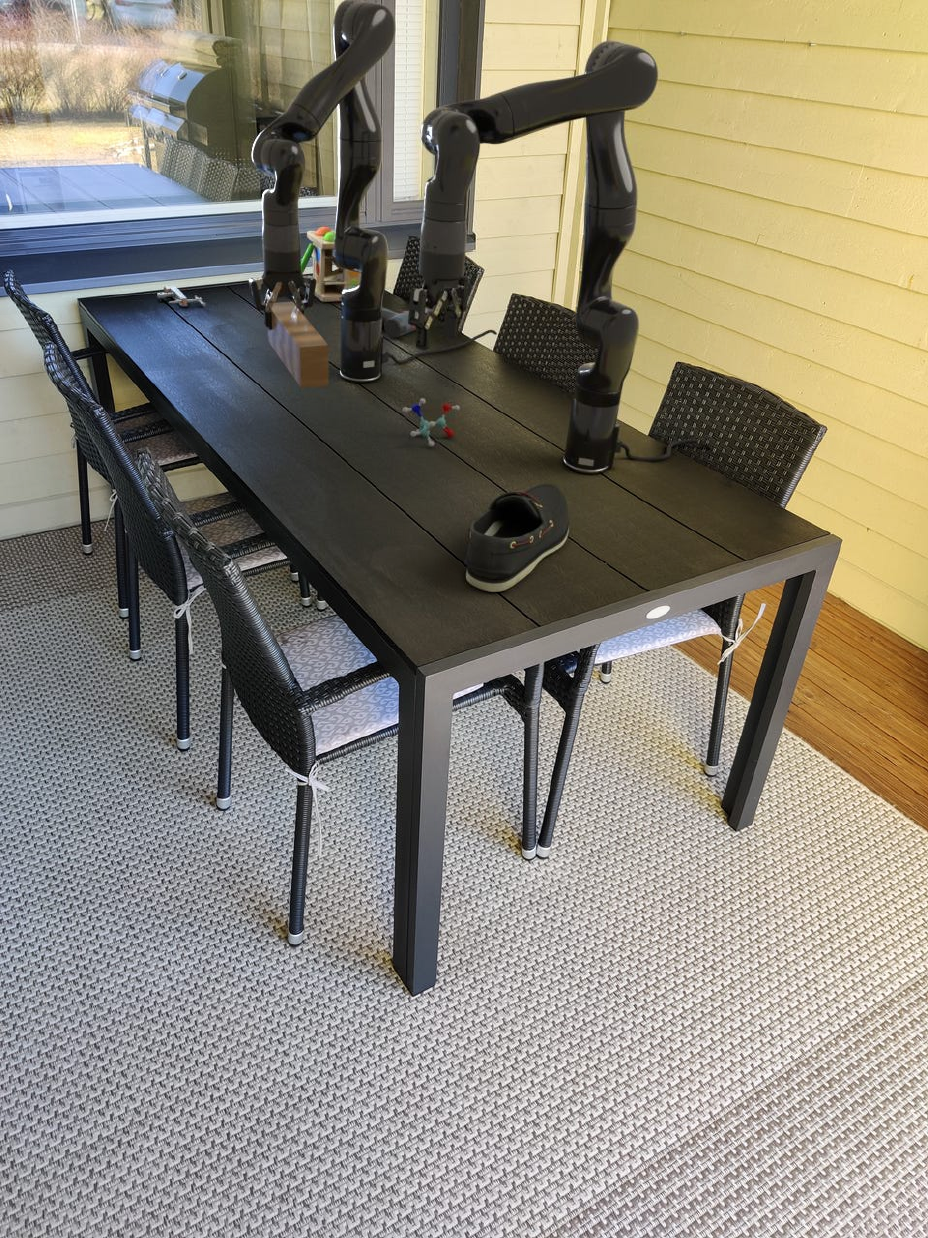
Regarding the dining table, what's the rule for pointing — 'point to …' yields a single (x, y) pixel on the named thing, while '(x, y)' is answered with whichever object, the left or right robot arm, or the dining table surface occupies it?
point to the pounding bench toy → (327, 266)
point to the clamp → (178, 296)
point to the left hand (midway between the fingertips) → (284, 327)
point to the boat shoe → (515, 536)
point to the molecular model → (427, 425)
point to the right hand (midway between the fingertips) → (436, 343)
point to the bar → (299, 345)
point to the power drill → (397, 322)
